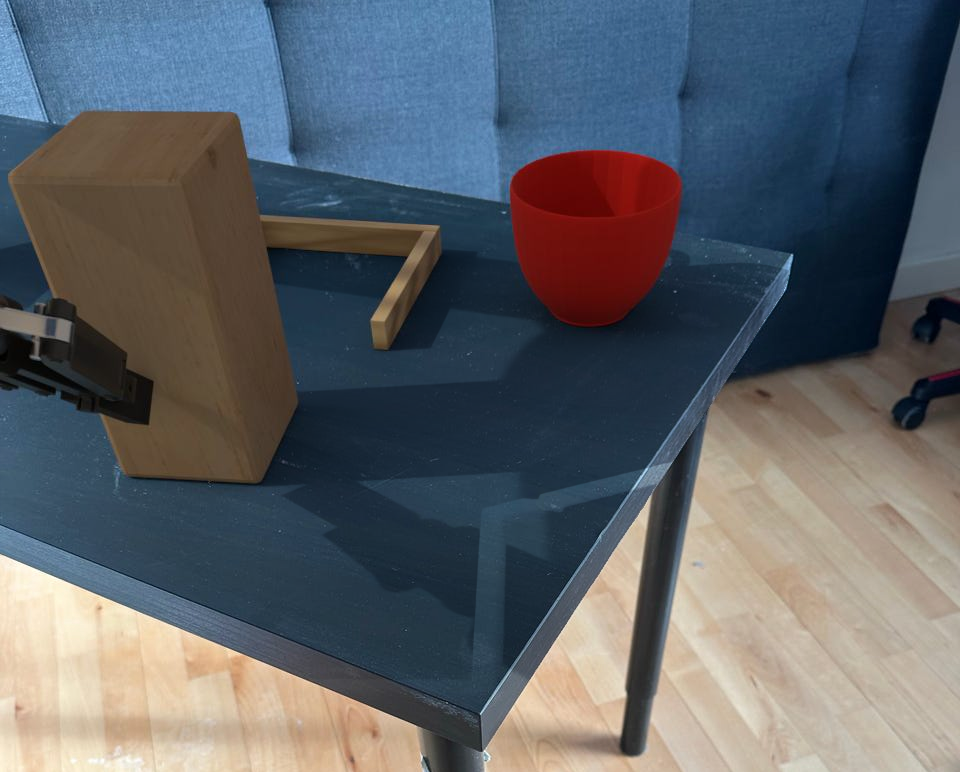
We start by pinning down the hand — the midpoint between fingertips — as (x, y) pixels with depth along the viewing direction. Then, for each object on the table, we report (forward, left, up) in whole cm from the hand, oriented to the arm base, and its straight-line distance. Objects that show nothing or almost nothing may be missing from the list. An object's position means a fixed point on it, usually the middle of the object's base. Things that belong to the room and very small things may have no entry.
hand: (139, 401), depth 57 cm
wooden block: (-1, +6, -7) cm, 10 cm away
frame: (-7, +27, -7) cm, 29 cm away
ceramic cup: (+14, +36, -7) cm, 39 cm away
